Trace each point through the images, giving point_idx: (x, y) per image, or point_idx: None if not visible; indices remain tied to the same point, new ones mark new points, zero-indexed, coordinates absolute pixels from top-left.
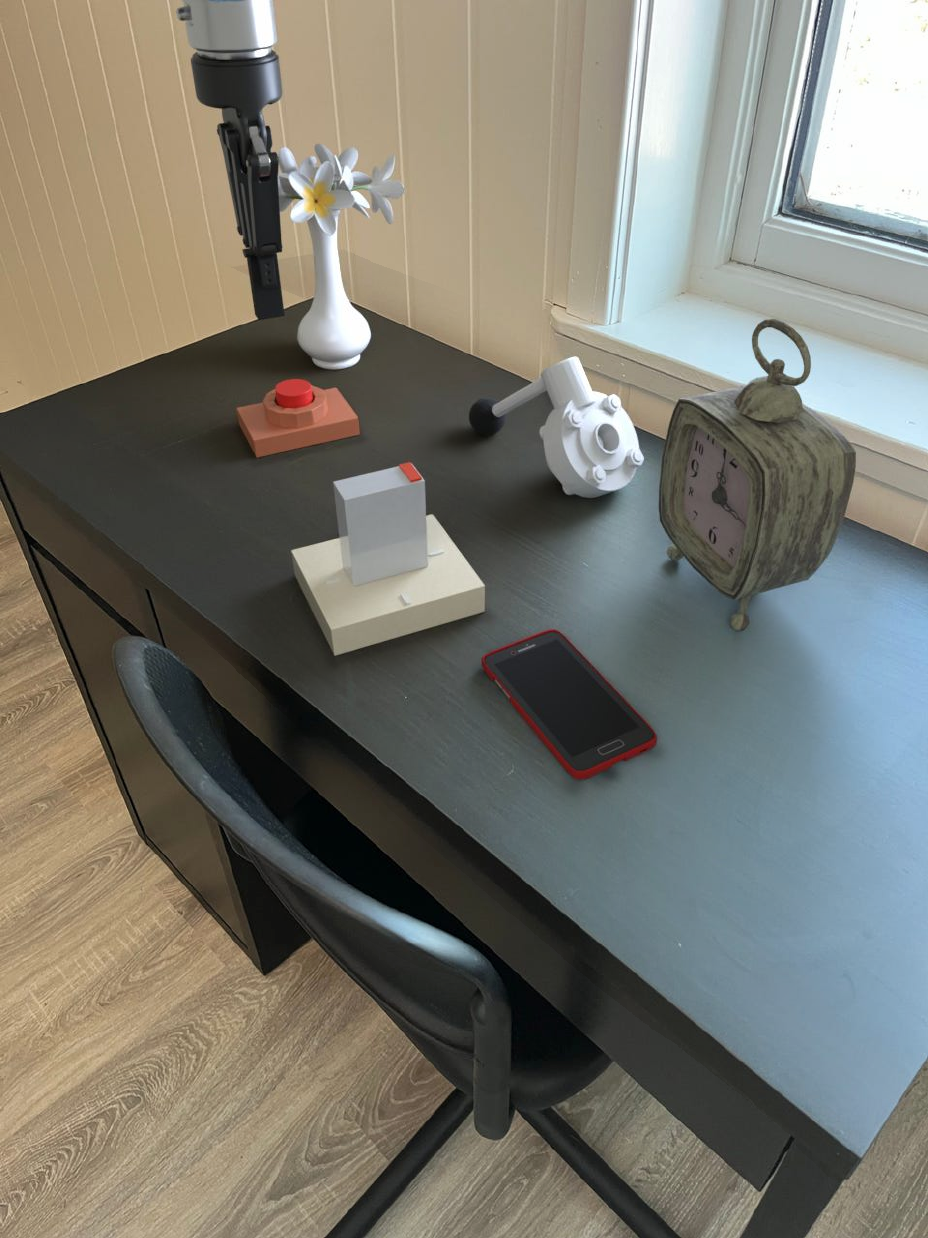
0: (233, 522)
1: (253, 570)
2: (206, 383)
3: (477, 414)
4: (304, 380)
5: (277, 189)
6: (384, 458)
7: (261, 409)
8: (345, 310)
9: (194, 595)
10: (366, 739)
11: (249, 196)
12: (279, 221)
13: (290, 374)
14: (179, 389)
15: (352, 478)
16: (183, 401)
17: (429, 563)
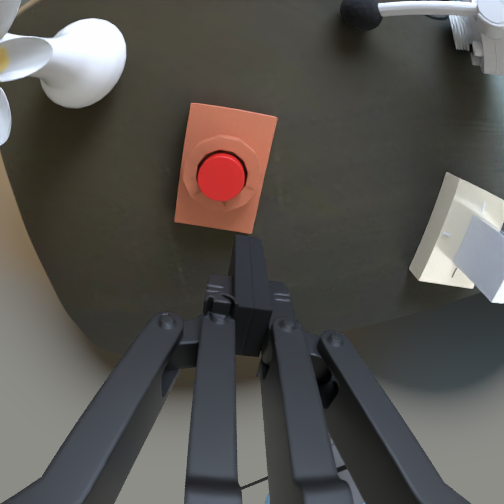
0: (329, 278)
1: (384, 287)
2: (81, 210)
3: (371, 25)
4: (212, 159)
5: (429, 461)
6: (332, 123)
7: (193, 201)
8: (83, 44)
9: (376, 320)
10: None
11: (354, 480)
12: (384, 393)
13: (99, 124)
14: (83, 236)
15: (499, 290)
16: (107, 241)
17: (484, 216)
